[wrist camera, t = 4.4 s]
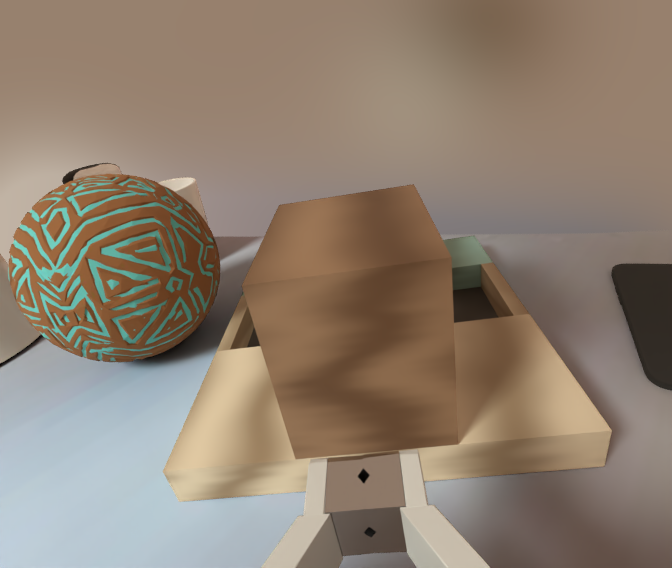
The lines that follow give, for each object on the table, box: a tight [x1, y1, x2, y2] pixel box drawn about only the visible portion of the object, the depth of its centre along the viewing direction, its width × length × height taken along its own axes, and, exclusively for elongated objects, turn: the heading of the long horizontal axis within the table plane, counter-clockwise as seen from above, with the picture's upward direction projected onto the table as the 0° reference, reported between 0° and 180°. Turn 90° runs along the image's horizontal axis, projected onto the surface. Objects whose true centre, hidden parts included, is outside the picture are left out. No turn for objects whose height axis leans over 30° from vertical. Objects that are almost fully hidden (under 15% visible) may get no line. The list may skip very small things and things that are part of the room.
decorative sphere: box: [8, 174, 220, 362], centre depth 34 cm, size 15×15×15 cm
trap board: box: [163, 236, 612, 502], centre depth 32 cm, size 22×24×2 cm
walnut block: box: [242, 185, 458, 459], centre depth 22 cm, size 8×10×10 cm
